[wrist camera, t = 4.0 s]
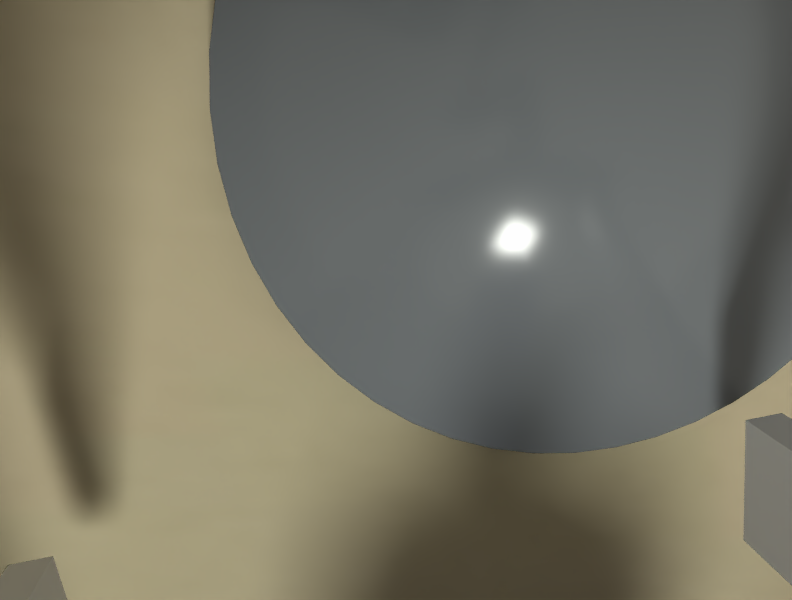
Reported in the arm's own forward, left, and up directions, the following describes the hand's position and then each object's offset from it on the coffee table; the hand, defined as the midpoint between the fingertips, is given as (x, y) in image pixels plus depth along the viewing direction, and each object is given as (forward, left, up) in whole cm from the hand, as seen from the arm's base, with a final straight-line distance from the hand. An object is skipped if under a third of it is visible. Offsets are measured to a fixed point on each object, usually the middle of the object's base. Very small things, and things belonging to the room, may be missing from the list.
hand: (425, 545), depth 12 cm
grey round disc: (-7, +4, -2) cm, 9 cm away
